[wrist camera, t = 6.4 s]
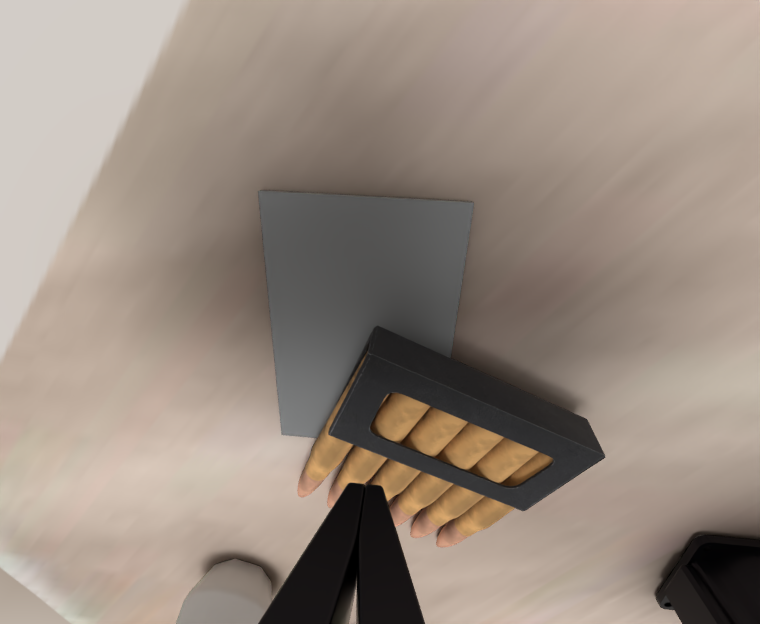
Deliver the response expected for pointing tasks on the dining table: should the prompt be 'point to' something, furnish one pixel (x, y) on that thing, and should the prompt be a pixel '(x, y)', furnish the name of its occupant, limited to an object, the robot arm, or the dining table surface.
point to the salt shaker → (228, 595)
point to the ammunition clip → (445, 440)
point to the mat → (354, 287)
